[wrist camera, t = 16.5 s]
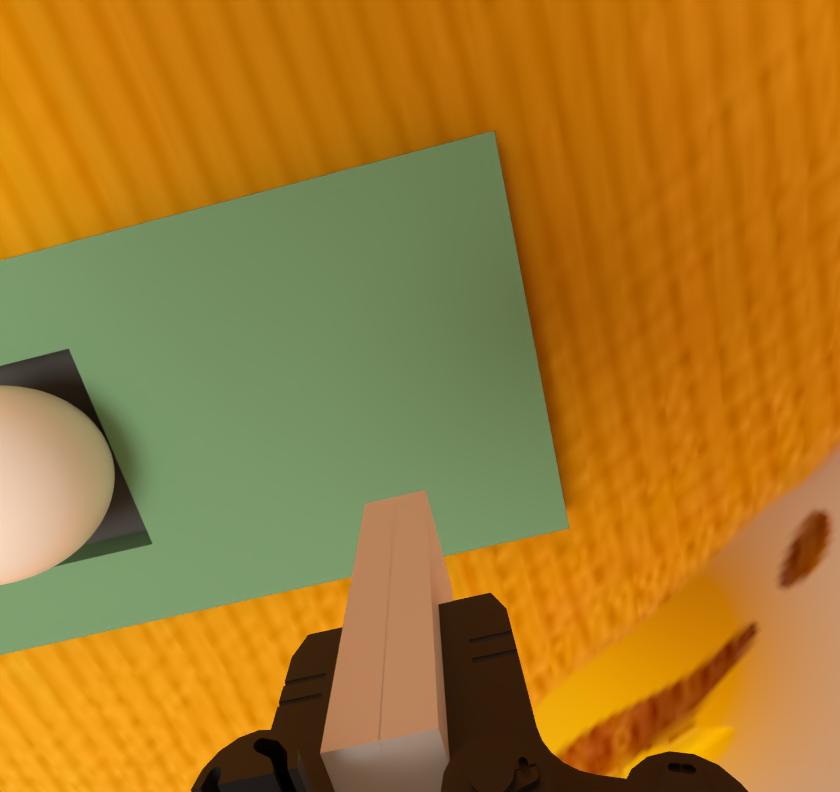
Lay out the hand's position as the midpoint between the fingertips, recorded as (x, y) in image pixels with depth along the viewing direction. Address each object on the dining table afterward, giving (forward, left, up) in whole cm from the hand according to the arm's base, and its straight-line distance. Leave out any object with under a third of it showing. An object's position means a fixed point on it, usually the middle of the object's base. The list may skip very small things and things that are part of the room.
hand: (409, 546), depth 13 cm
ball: (+10, -19, -14) cm, 26 cm away
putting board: (+6, -10, -19) cm, 23 cm away
